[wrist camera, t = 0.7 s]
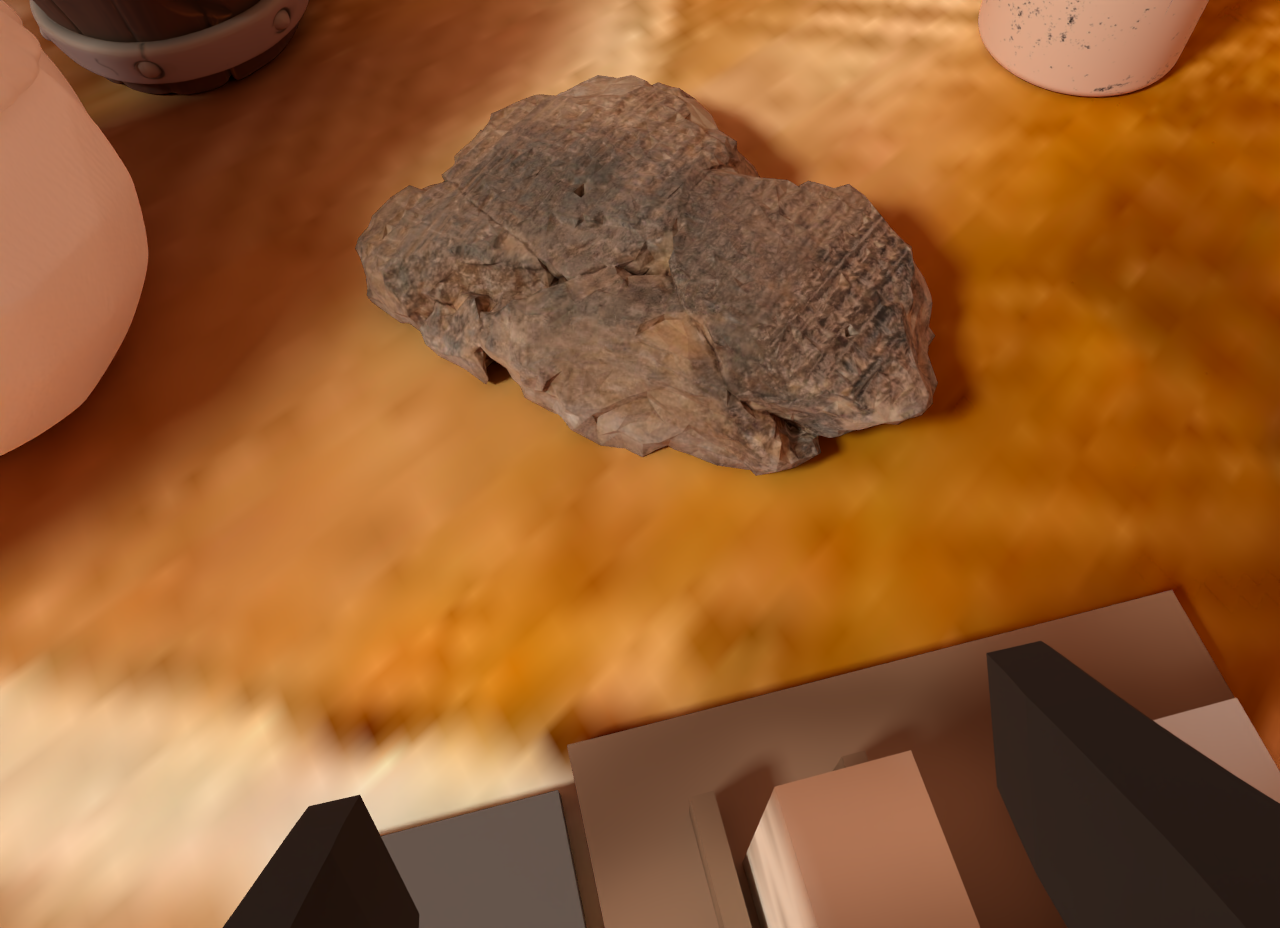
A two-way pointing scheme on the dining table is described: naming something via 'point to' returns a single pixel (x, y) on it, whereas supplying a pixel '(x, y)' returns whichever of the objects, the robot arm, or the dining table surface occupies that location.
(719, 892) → the walnut rack
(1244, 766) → the upper offcut
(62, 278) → the white sculpture
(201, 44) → the flowerpot
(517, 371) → the clay tablet
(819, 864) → the brown rectangular block
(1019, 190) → the dining table surface
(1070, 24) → the teacup with lid
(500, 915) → the gray rectangular plate
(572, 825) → the dining table surface
